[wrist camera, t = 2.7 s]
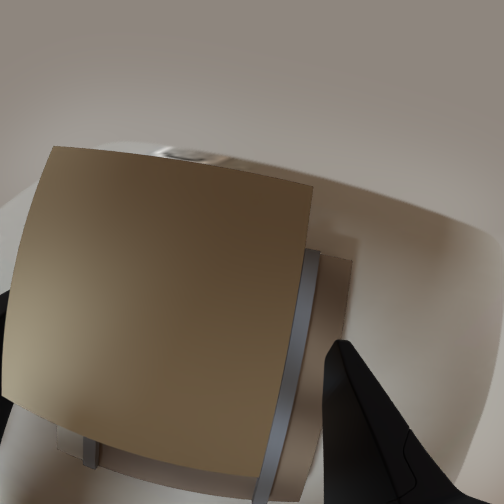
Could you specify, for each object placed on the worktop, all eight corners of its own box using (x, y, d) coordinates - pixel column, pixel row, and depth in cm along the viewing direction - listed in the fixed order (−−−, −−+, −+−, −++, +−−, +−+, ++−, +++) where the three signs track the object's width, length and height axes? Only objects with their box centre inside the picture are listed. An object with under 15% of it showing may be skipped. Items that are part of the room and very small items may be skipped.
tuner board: (294, 490, 15) (301, 506, 13) (67, 440, 14) (53, 451, 12) (342, 264, 18) (356, 259, 16) (100, 216, 17) (87, 206, 15)
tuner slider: (269, 380, 15) (368, 521, 3) (62, 329, 14) (-117, 333, 3) (290, 265, 16) (430, 164, 4) (84, 224, 15) (-63, 112, 4)
